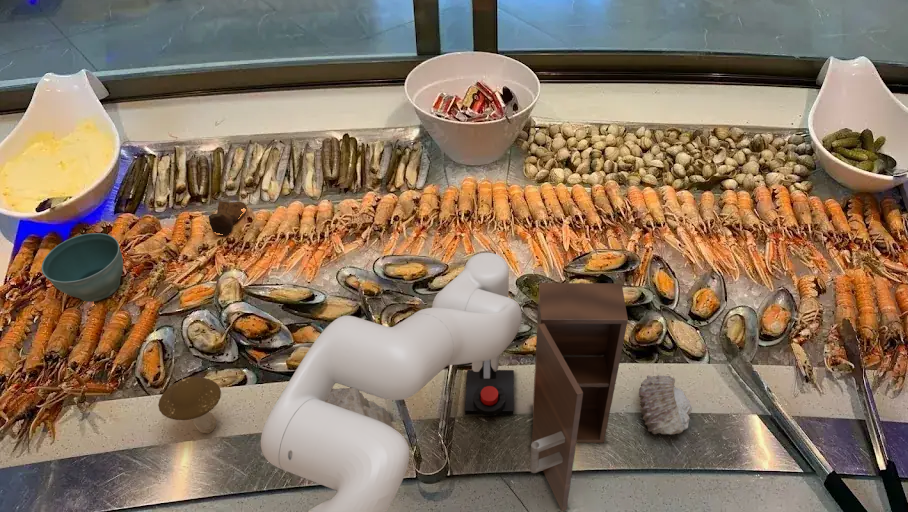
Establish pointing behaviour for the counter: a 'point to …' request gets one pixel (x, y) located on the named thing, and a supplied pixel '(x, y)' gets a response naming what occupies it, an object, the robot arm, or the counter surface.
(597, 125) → the counter surface
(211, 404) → the mushroom
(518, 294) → the counter surface
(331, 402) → the stone
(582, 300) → the cupboard
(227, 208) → the sculpture
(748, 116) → the counter surface
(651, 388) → the seashell
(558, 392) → the door
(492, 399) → the button
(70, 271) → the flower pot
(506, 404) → the control box
